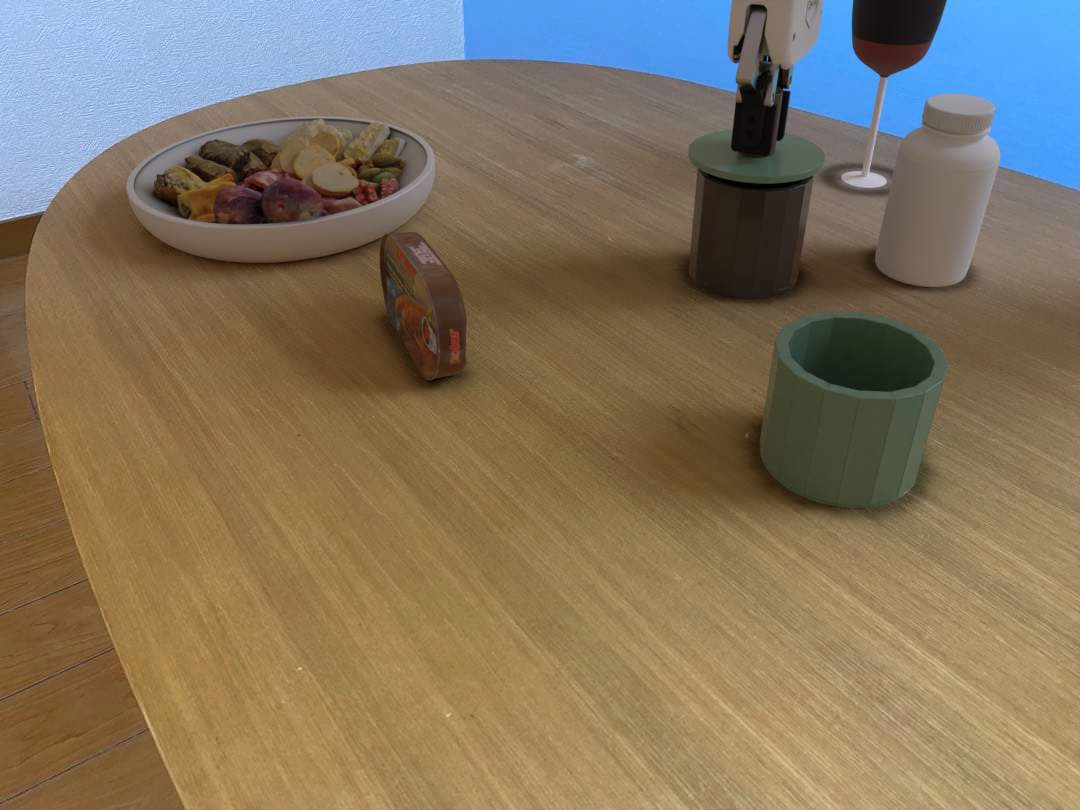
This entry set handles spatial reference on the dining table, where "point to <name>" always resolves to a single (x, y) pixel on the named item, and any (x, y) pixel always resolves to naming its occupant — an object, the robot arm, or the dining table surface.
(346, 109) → the dining table surface
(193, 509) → the dining table surface
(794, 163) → the lid
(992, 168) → the pill bottle
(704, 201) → the cup
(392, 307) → the tin
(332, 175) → the bowl
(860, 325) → the can
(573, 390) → the dining table surface
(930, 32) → the wineglass
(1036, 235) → the dining table surface
